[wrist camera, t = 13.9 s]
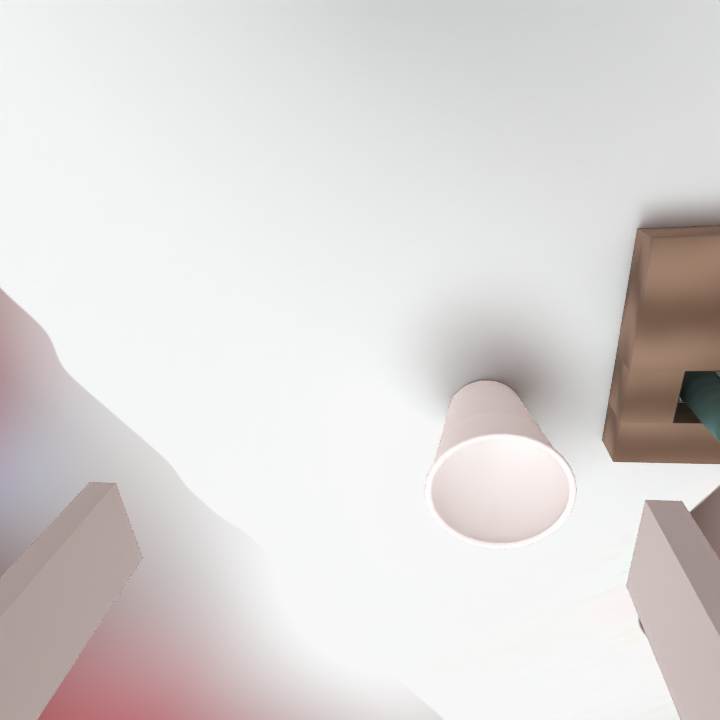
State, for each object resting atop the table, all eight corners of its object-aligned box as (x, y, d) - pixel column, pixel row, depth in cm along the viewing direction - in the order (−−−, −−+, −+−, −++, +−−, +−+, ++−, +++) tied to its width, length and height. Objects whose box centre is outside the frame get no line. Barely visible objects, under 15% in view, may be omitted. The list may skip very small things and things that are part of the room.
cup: (568, 387, 41) (609, 472, 32) (506, 471, 46) (525, 568, 36) (459, 339, 41) (468, 410, 31) (408, 429, 45) (400, 516, 36)
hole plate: (637, 229, 35) (653, 238, 33) (829, 220, 34) (863, 230, 31) (602, 440, 43) (613, 461, 40) (756, 442, 41) (778, 465, 39)
